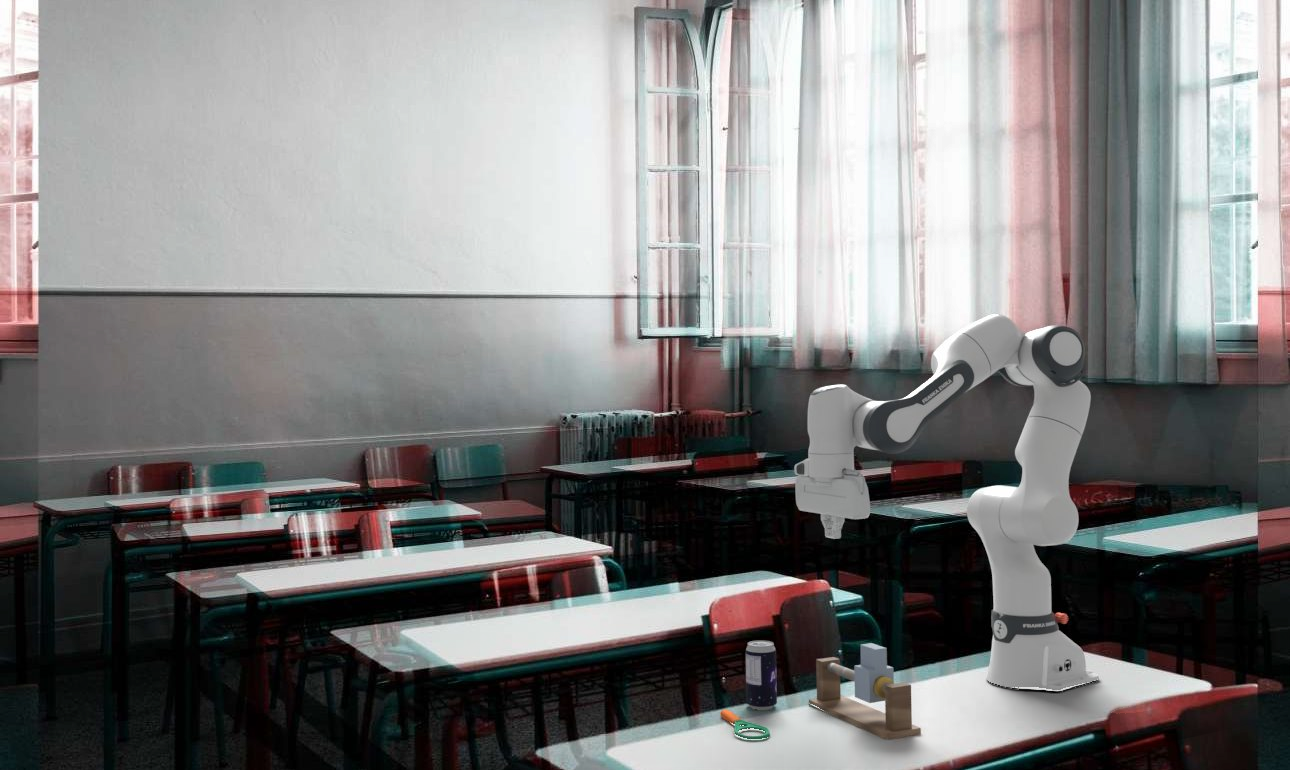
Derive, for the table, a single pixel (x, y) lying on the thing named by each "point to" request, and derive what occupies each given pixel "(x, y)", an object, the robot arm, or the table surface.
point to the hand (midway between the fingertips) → (833, 537)
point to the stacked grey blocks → (871, 671)
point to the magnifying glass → (737, 721)
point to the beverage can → (761, 675)
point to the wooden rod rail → (867, 718)
